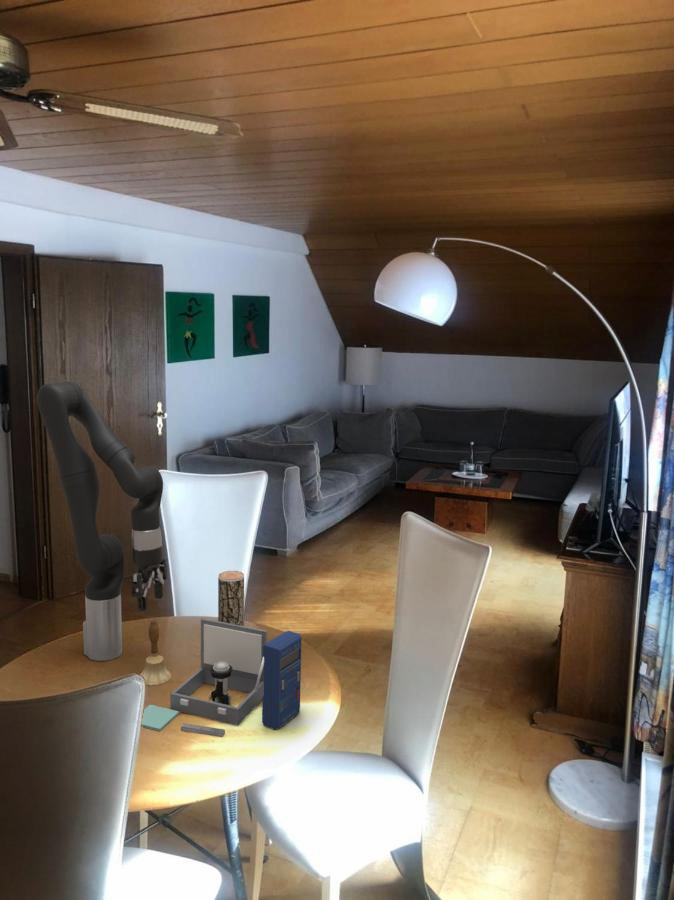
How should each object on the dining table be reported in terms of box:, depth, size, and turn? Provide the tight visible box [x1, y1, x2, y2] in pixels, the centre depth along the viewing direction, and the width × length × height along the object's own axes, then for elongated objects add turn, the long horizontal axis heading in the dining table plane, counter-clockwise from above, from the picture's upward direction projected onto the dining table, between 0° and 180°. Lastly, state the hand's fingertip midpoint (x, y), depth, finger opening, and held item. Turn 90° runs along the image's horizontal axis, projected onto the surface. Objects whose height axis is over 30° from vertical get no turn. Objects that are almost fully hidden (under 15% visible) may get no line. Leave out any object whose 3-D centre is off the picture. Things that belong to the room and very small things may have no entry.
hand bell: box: [139, 619, 172, 687], centre depth 192 cm, size 8×8×16 cm
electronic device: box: [261, 630, 303, 730], centre depth 174 cm, size 10×5×20 cm, turn 148°
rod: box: [180, 722, 226, 738], centre depth 169 cm, size 10×1×1 cm, turn 77°
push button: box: [209, 661, 232, 706], centre depth 182 cm, size 7×5×10 cm
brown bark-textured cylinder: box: [217, 570, 245, 626], centre depth 200 cm, size 7×7×25 cm
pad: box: [140, 704, 180, 732], centre depth 174 cm, size 8×8×1 cm
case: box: [169, 618, 268, 726], centre depth 181 cm, size 19×16×17 cm
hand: (151, 604), depth 196 cm, fingers open, 8 cm apart
